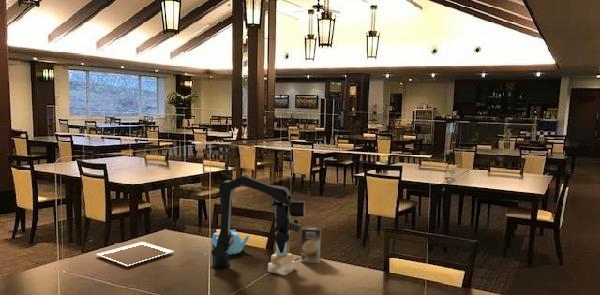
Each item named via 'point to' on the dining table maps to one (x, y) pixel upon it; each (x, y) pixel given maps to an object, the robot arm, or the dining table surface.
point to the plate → (135, 246)
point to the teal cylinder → (283, 251)
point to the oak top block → (281, 259)
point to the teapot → (237, 244)
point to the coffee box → (310, 244)
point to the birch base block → (281, 268)
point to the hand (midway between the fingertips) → (281, 249)
